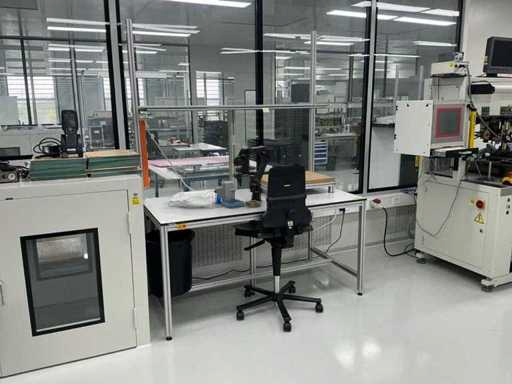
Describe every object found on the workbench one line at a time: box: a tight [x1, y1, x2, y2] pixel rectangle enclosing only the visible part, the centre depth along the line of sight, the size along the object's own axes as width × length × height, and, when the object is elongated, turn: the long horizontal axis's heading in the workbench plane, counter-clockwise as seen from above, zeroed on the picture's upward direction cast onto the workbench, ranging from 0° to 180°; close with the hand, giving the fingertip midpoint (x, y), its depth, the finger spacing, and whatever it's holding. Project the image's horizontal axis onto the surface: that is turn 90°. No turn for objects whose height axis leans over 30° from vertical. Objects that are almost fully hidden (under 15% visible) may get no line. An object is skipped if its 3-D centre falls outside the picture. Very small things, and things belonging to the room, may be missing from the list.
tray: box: [220, 198, 245, 209], centre depth 302 cm, size 13×11×3 cm
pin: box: [230, 188, 237, 204], centre depth 301 cm, size 4×4×11 cm
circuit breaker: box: [213, 180, 235, 201], centre depth 312 cm, size 8×14×15 cm, turn 104°
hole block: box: [244, 200, 262, 209], centre depth 301 cm, size 8×8×3 cm
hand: (245, 186), depth 307 cm, fingers open, 9 cm apart
